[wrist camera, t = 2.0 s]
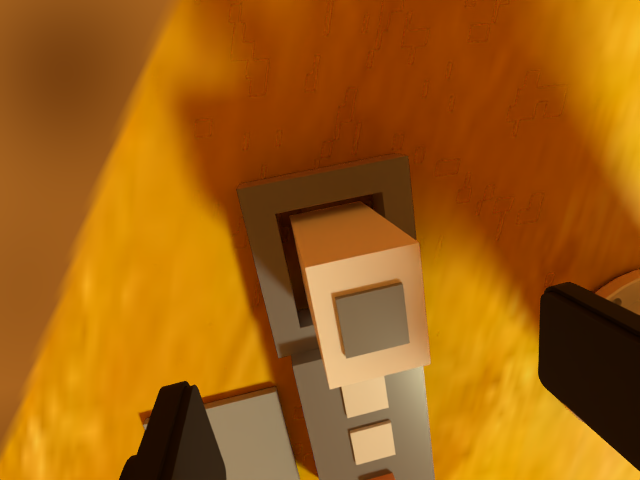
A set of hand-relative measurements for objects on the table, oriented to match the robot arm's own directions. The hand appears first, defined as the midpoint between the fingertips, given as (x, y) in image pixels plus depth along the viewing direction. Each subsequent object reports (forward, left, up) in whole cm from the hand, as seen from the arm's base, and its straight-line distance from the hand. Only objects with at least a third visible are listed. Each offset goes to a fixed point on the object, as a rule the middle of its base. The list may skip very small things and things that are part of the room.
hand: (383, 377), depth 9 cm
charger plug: (-1, 0, -12) cm, 12 cm away
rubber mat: (+8, +12, -11) cm, 19 cm away
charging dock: (-1, +6, -11) cm, 13 cm away
